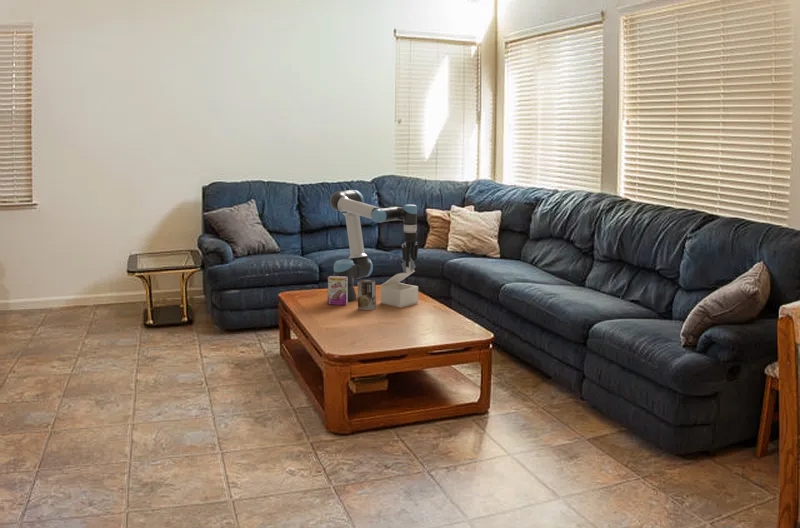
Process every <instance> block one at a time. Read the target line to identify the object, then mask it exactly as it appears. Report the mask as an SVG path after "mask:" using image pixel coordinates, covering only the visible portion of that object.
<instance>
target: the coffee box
mask: <svg viewBox="0 0 800 528" xmlns="http://www.w3.org/2000/svg"><path fill="white" fill-rule="evenodd" d="M356 283H357V309H358V310H365V311H366V310H367V311H373V310H376V308H377V300H376V299H377V288H376V286H377V284H376V283H377V282H376V280H372V279H359V280H358V281H357V282H356Z"/></svg>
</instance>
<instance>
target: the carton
mask: <svg viewBox="0 0 800 528" xmlns="http://www.w3.org/2000/svg"><path fill="white" fill-rule="evenodd" d="M380 304H384V305H388V306H392V307H396V308H404V307H408V306H412V305H416V304H419V286H418V285H411V284H406V283H402V282H399V283H394V284H390V285H385V286H380Z"/></svg>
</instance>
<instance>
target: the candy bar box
mask: <svg viewBox="0 0 800 528" xmlns="http://www.w3.org/2000/svg"><path fill="white" fill-rule="evenodd" d="M348 303H349V301H348V277H342V276H334V275H329V276H327V305H328V306H347V305H348Z"/></svg>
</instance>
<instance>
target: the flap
mask: <svg viewBox="0 0 800 528" xmlns="http://www.w3.org/2000/svg"><path fill="white" fill-rule="evenodd" d="M410 262H411V270H412V269H414V272H411V273H407V272H406V261H403V262H402V263H400V265H401V267H402V270H403V272H400V273H396V274H395V275H393V276H392V277H390V278H389V279H387V280H386V281H384V282H383V283H381V284H380V287H381V286H385V285H390V284H395V283H401V281H403V280H405V279H406V278H407V277H409V276H410V275H412V274H413V273H415V272H416V271H415V268H416V267H417V266H416V264H415V261H414V262H413V259H412V258H410Z"/></svg>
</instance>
